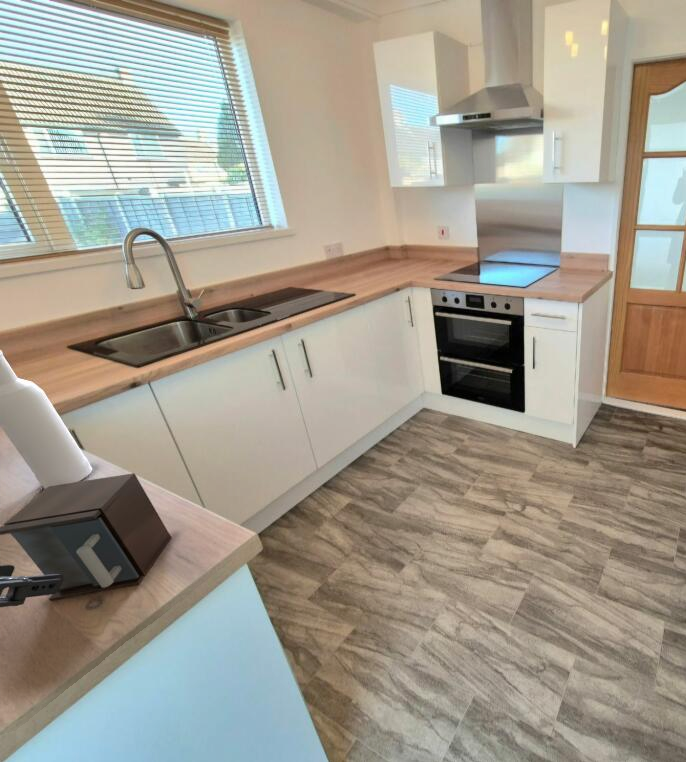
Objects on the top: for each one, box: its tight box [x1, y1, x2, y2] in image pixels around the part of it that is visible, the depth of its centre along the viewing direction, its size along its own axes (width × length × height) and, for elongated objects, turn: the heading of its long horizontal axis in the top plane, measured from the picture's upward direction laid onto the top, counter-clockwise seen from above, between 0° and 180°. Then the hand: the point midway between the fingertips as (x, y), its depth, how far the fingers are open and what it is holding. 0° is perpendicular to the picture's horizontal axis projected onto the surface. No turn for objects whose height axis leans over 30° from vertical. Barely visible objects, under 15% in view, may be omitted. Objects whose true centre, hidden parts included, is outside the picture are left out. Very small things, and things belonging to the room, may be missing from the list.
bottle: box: [0, 349, 93, 490], centre depth 84 cm, size 8×8×30 cm
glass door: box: [51, 518, 139, 588], centre depth 61 cm, size 6×4×12 cm, turn 101°
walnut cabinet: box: [0, 472, 172, 602], centre depth 65 cm, size 12×10×14 cm
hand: (34, 578), depth 53 cm, fingers open, 8 cm apart
